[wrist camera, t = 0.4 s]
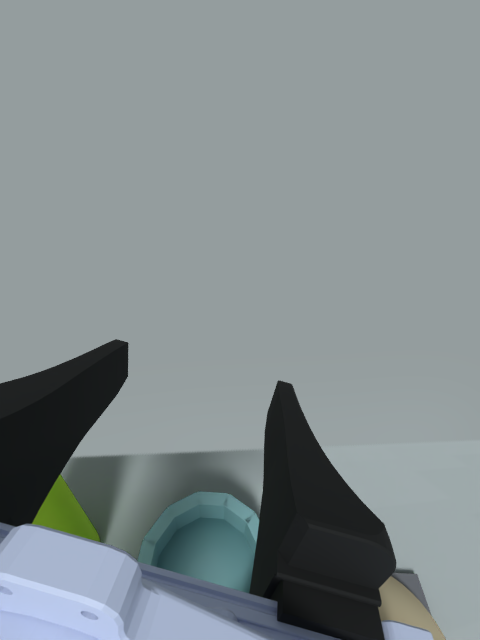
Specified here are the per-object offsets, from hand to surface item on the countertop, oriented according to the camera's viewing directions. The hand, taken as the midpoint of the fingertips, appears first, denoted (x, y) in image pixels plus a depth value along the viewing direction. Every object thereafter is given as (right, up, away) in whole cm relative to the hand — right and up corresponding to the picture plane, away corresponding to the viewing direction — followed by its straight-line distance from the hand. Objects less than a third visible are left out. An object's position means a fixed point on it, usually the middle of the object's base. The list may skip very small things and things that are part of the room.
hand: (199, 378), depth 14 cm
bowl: (-1, -18, +9) cm, 20 cm away
